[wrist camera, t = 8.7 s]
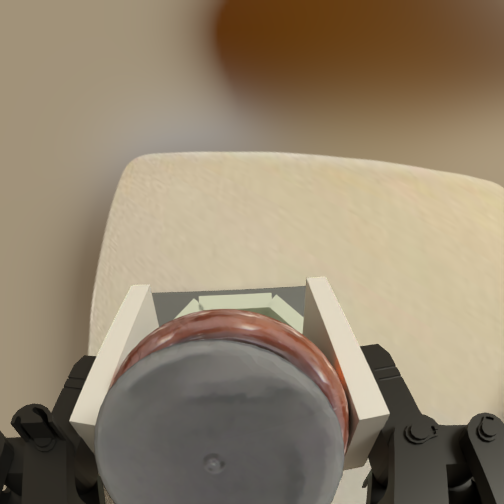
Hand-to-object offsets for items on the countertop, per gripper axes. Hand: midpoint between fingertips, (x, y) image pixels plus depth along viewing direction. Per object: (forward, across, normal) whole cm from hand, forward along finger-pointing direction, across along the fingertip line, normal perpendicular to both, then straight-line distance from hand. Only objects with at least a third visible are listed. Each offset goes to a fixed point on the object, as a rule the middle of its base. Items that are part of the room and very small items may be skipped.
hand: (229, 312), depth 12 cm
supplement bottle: (0, 0, -5) cm, 5 cm away
